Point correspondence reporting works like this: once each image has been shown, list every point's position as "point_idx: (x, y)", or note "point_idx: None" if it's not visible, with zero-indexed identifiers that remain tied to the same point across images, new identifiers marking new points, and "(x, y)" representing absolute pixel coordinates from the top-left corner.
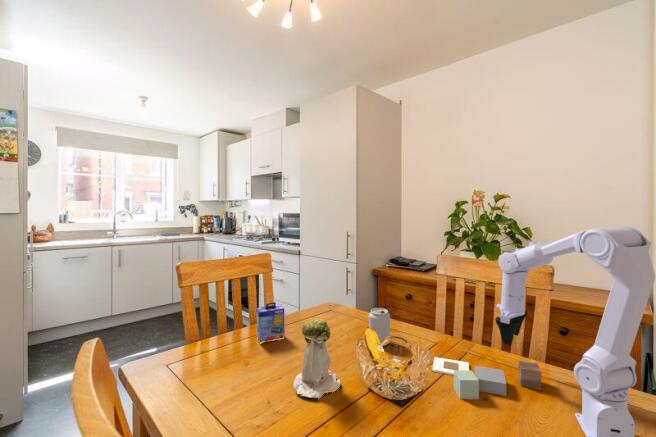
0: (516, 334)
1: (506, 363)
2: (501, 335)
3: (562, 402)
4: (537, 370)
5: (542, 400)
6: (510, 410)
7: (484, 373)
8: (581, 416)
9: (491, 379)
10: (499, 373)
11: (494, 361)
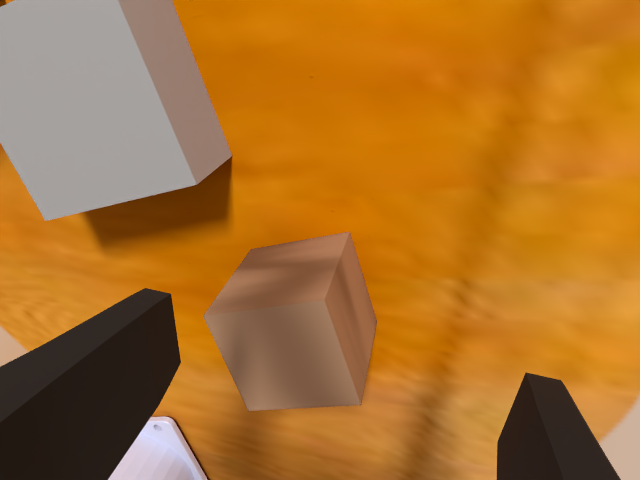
0: (504, 444)
1: (538, 144)
2: (43, 351)
3: (235, 392)
4: (249, 395)
5: (190, 330)
6: (5, 217)
7: (49, 73)
8: (161, 434)
9: (18, 135)
10: (133, 170)
11: (529, 46)
